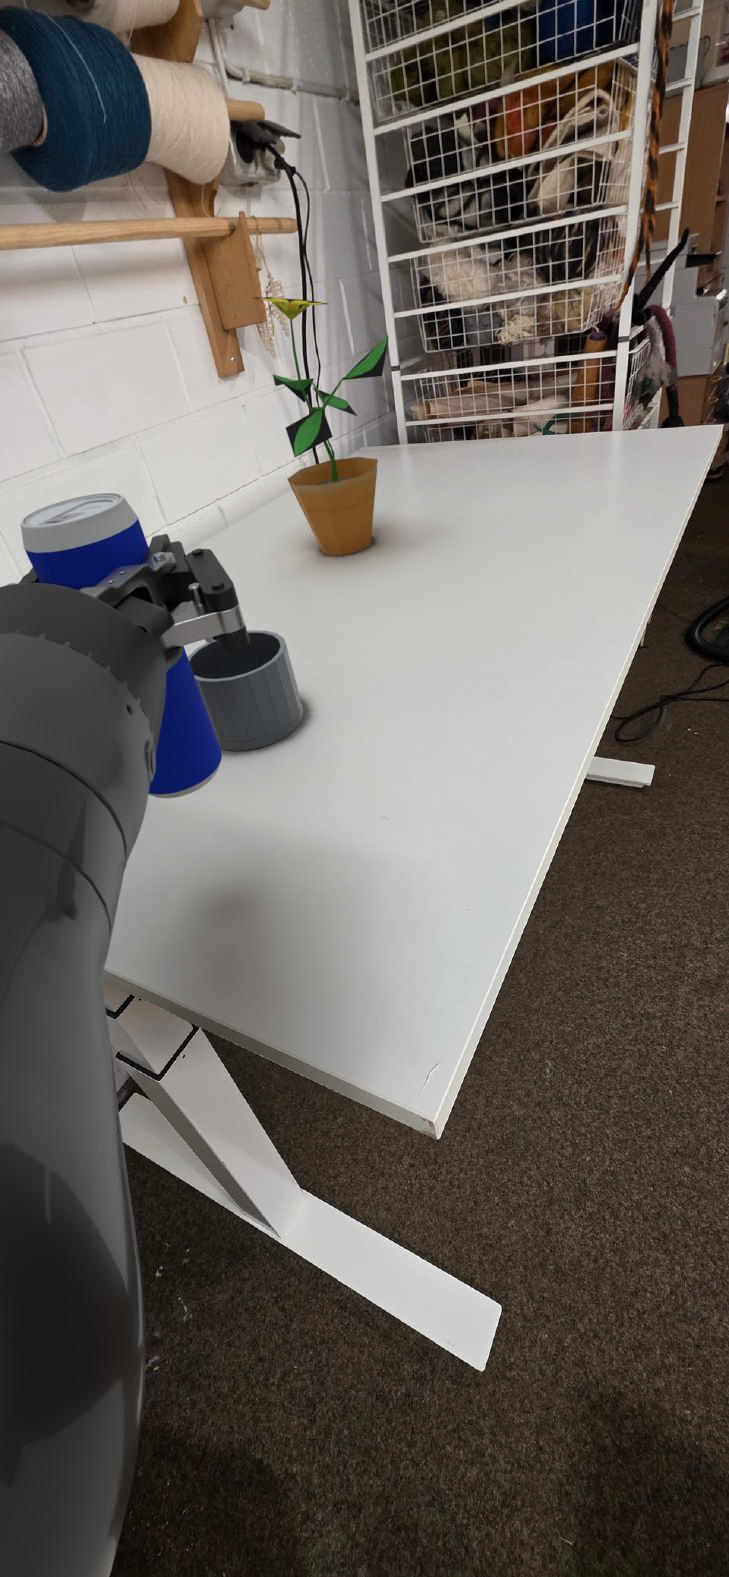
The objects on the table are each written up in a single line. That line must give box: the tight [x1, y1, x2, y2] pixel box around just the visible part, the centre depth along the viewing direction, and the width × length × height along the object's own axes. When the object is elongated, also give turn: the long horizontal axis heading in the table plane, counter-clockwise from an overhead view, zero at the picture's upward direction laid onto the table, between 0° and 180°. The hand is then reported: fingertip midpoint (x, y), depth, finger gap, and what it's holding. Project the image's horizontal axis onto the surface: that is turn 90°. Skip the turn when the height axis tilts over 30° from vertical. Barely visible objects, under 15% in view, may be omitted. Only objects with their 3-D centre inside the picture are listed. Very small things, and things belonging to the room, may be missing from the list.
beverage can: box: [19, 492, 223, 799], centre depth 34 cm, size 5×5×15 cm
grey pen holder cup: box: [187, 629, 304, 752], centre depth 60 cm, size 9×9×7 cm
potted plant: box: [253, 296, 390, 556], centre depth 87 cm, size 18×19×30 cm
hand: (111, 566), depth 34 cm, fingers closed on beverage can, 5 cm apart
